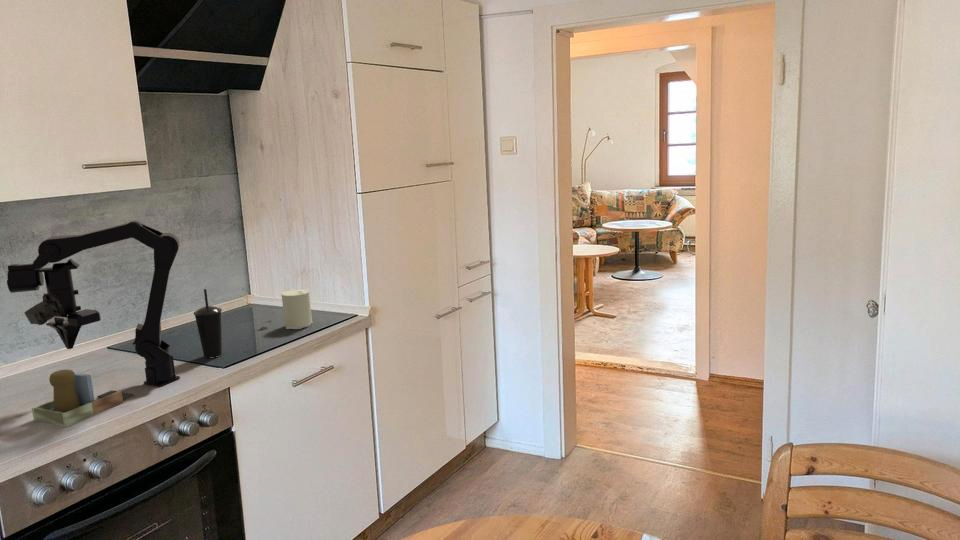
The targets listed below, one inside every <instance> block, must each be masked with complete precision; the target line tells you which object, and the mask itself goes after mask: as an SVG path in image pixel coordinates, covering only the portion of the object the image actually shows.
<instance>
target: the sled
mask: <svg viewBox="0 0 960 540" xmlns="http://www.w3.org/2000/svg"><path fill="white" fill-rule="evenodd" d="M74 373H75V381H74V385H75V388H76V391H77V394H78V397H79V400H80V403H81V406H83V405H85V404H88V403H90V402H93V401H95V400H96V399H95V394H94V388H93V387H94V386H93V381H92V375H91V374H86V373H79V372H74ZM50 410H53V411H54V408H52V409H50Z"/></svg>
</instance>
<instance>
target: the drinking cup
mask: <svg viewBox="0 0 960 540" xmlns="http://www.w3.org/2000/svg"><path fill="white" fill-rule="evenodd" d="M207 292H208V291H207V289H206V288H205V289H204V288H203V294H204V302H205V306H202V307H201V308H199V309H196V310H195V311H194V312H193V315H194V318H195V322H196V326H197V330H198V335H199V339H200V344H201V349H202V354H203V357H204V358H205V357H206V358H205V359H208V358H210V357H216V356H219V355H221V354H222V355H223V350H222V349H223V347H222V311H223V309H222V307H217V306H212V305H211V306H210V305H209V301H208V293H207ZM222 355H221V356H222ZM210 359H211V358H210Z"/></svg>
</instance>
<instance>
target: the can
mask: <svg viewBox="0 0 960 540" xmlns="http://www.w3.org/2000/svg"><path fill="white" fill-rule="evenodd" d="M280 295H281V302H282V310H283V311H282V312H283V313H282V314H283V319H284V320H283V323H284V326H286V327H302V326H307V325H310V324H311V323H313V318H312V307H311V296H310V290H309V289H305V288H304V289H299V288H298V289H291V290H285V291H283V292H281V294H280Z"/></svg>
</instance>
